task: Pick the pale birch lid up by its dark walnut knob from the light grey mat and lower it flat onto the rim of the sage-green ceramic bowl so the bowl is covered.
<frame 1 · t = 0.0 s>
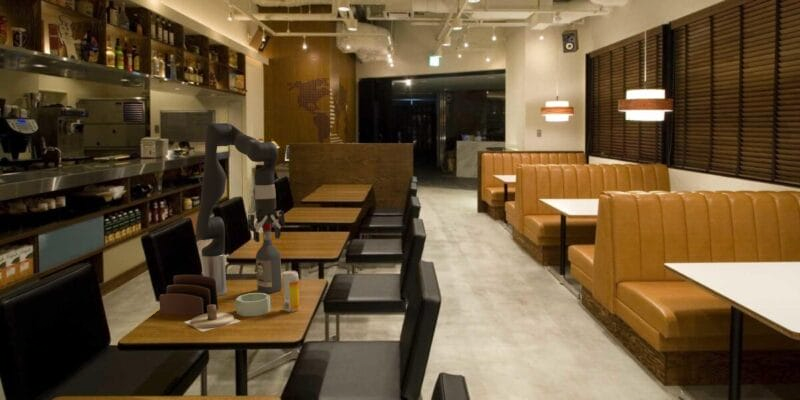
hand: (267, 240, 221), 29 cm above the table, tool pointing down, fingers open, 8 cm apart
lid: (212, 321, 218), point 1 cm above the table, touching mat
mat: (212, 323, 219), on the table
liquor: (269, 290, 261), on the table
bowl: (253, 312, 230), on the table
beer can: (291, 310, 233), on the table
letter holder: (189, 313, 232), on the table
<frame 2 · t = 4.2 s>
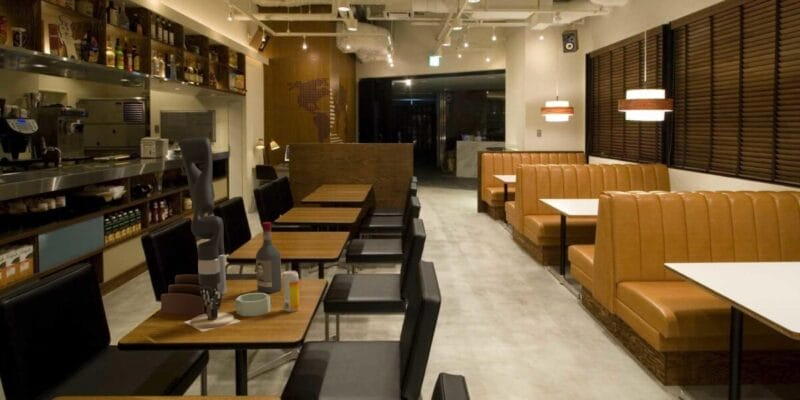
hand: (212, 316, 218), 2 cm above the table, tool pointing down, fingers closed on lid, 3 cm apart
lid: (212, 321, 218), point 1 cm above the table, touching gripper, mat
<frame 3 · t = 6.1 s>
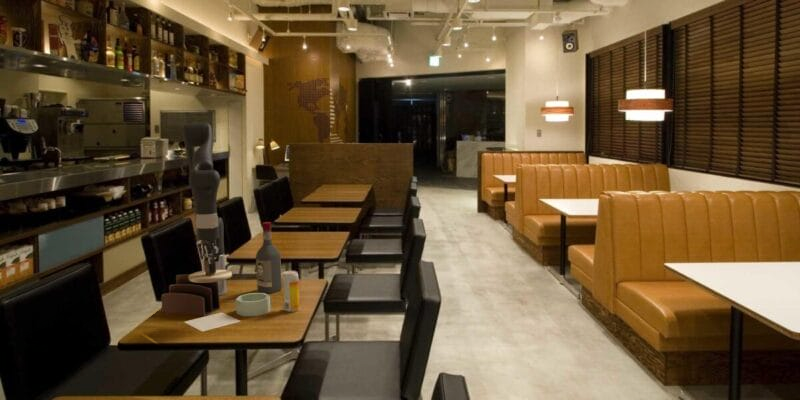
hand: (210, 272, 216), 19 cm above the table, tool pointing down, fingers closed on lid, 3 cm apart
lid: (210, 277, 217), point 17 cm above the table, touching gripper
everything else where it was.
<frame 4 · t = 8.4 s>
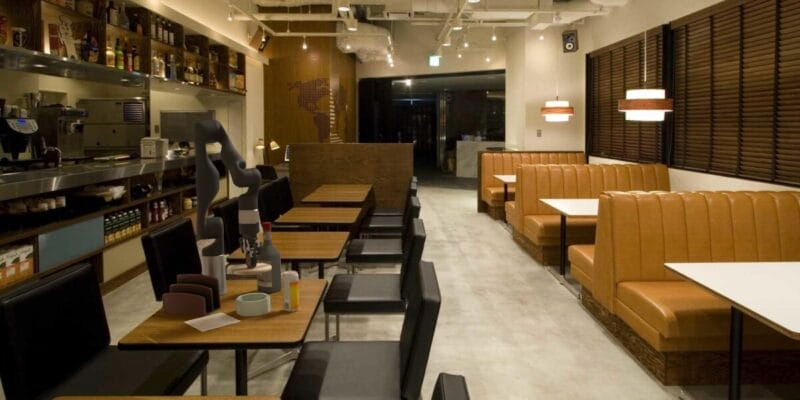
hand: (251, 265, 228), 19 cm above the table, tool pointing down, fingers closed on lid, 3 cm apart
lid: (251, 270, 228), point 17 cm above the table, touching gripper
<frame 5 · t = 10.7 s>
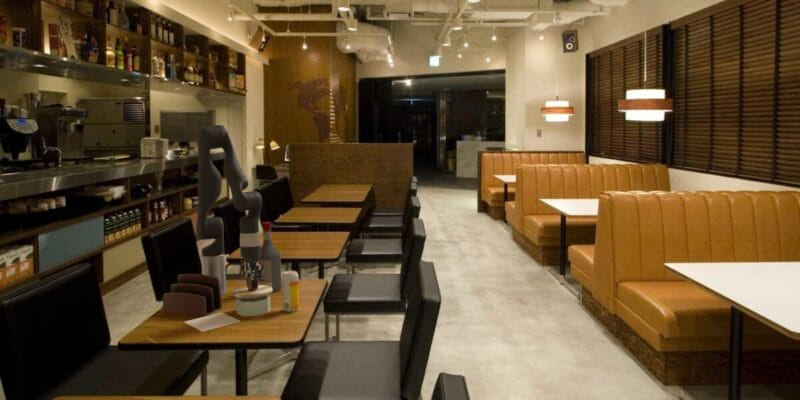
hand: (252, 287, 229), 10 cm above the table, tool pointing down, fingers closed on lid, 3 cm apart
lid: (252, 292, 229), point 8 cm above the table, touching gripper
when the fingers open (8 cm above the table, at t = 12.6 s): lid stays where it is, resting on bowl.
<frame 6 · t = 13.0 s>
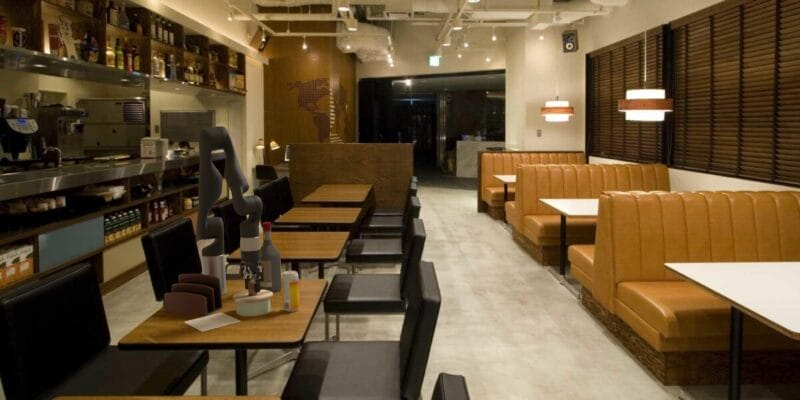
hand: (252, 290, 229), 9 cm above the table, tool pointing down, fingers open, 6 cm apart
lid: (253, 297, 229), point 6 cm above the table, touching bowl
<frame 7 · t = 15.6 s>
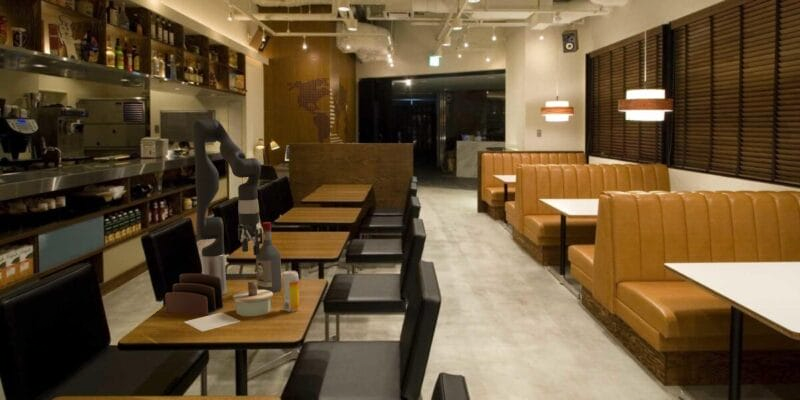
hand: (250, 253, 227), 23 cm above the table, tool pointing down, fingers open, 8 cm apart
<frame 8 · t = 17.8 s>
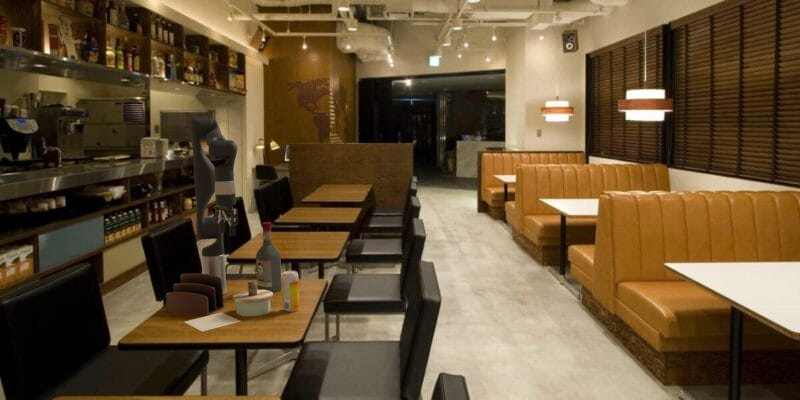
hand: (227, 234, 231), 30 cm above the table, tool pointing down, fingers open, 8 cm apart
at the end: lid 0.1 cm from the bowl (horizontally); lid point 6.0 cm above the table; lid tilted 0° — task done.
